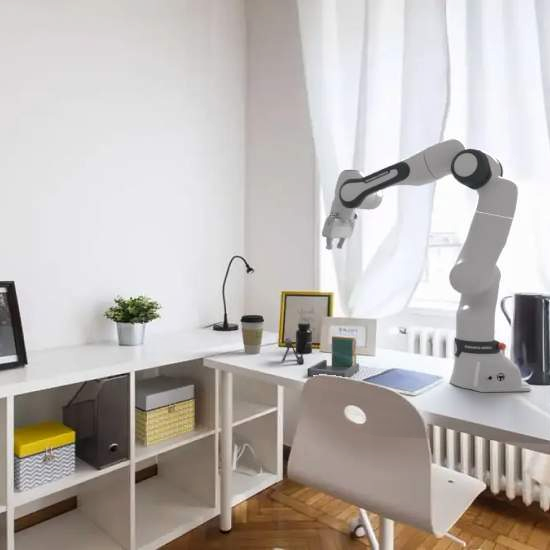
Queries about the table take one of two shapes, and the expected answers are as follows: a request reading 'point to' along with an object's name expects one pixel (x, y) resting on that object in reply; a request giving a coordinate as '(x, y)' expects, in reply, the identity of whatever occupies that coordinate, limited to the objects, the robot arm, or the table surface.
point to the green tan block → (343, 351)
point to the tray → (332, 370)
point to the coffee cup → (252, 333)
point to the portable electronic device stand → (288, 345)
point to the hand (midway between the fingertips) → (334, 248)
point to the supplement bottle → (304, 339)
